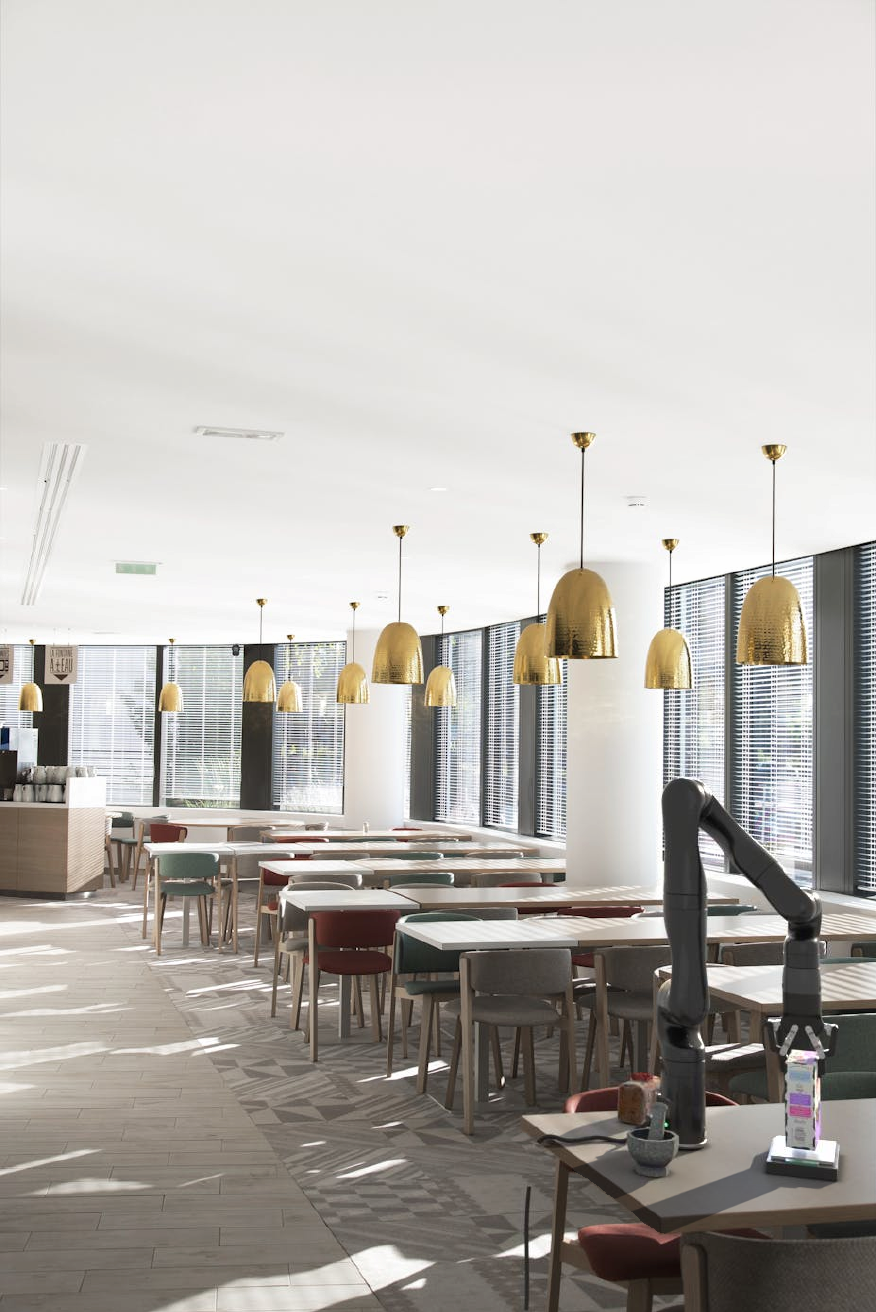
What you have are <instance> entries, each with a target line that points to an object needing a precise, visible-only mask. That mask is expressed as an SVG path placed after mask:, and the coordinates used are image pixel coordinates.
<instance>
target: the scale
mask: <svg viewBox="0 0 876 1312" xmlns="http://www.w3.org/2000/svg"><path fill="white" fill-rule="evenodd" d="M840 1158H841V1145H840V1144H837V1142H836V1141H833V1140H832V1141H831V1140H823V1139H822V1140H821V1139H819V1141H818V1144H817V1147H816V1150H815V1151H810V1150H802V1149H794V1148H788V1147H785V1135H783V1136H782V1135H776V1137H773V1138H772V1140H771V1143H770V1147H769V1151H768V1155H767V1158H766V1162H765V1166H766V1167H765V1173H766V1174H769V1175H778V1176H779V1175H780V1176H787V1177H796V1178H805V1179H814V1180H823V1181H831V1182H832V1181H833V1182H838V1181H839V1180H838V1179H839V1169H840V1168H839V1167H840Z"/></svg>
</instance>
